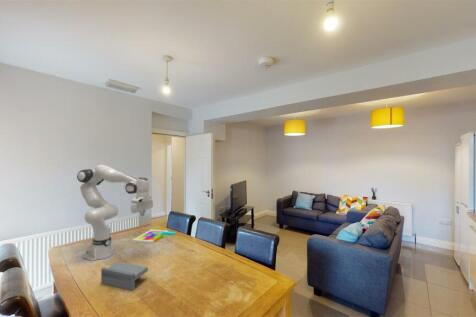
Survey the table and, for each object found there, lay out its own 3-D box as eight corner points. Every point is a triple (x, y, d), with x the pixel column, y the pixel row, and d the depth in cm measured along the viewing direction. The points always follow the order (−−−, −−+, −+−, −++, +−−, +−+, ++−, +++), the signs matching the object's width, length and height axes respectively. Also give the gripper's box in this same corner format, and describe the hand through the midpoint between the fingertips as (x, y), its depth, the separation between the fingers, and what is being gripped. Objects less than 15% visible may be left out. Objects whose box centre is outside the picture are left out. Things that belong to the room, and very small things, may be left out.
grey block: (101, 283, 133) (101, 268, 133) (118, 272, 145) (118, 259, 145) (132, 290, 125) (132, 275, 125) (147, 278, 138) (147, 264, 138)
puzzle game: (131, 243, 197) (161, 245, 191) (131, 239, 197) (161, 242, 191) (151, 232, 227) (177, 234, 221) (151, 229, 227) (177, 231, 221)
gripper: (148, 195, 178) (148, 212, 179) (129, 200, 159) (129, 218, 159) (155, 196, 176) (154, 213, 177) (136, 201, 157) (135, 219, 157)
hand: (142, 215), depth 168 cm, fingers closed
